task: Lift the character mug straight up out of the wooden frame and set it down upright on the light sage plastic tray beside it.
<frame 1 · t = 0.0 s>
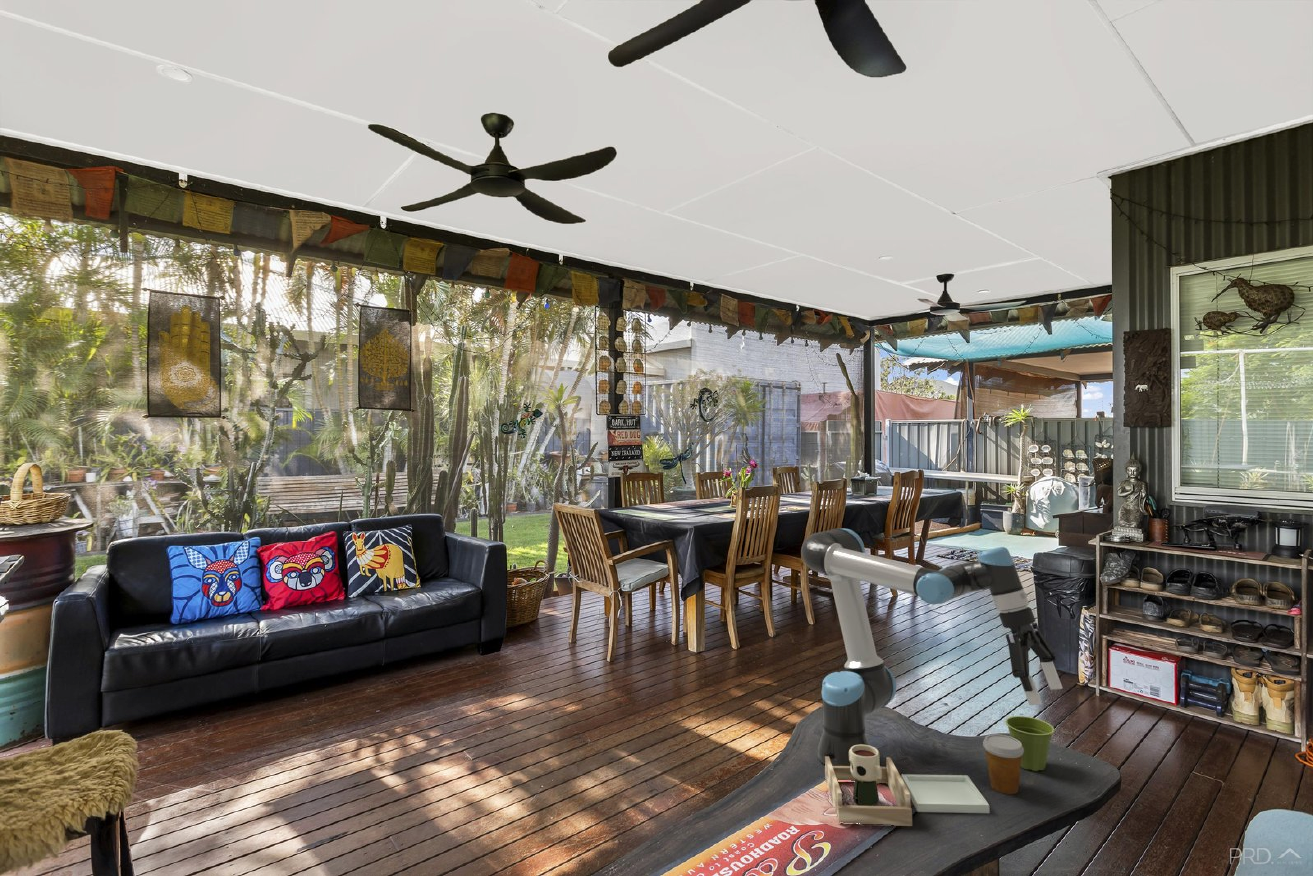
hand: (1046, 696, 160), 28 cm above the table, tool tilted 20°, fingers open, 13 cm apart
character mug: (866, 802, 166), resting in wooden frame
tray: (943, 796, 167), on the table
disposable coffee cup: (1004, 788, 171), on the table
wooden frame: (866, 801, 166), on the table
plant pot: (1030, 766, 182), on the table
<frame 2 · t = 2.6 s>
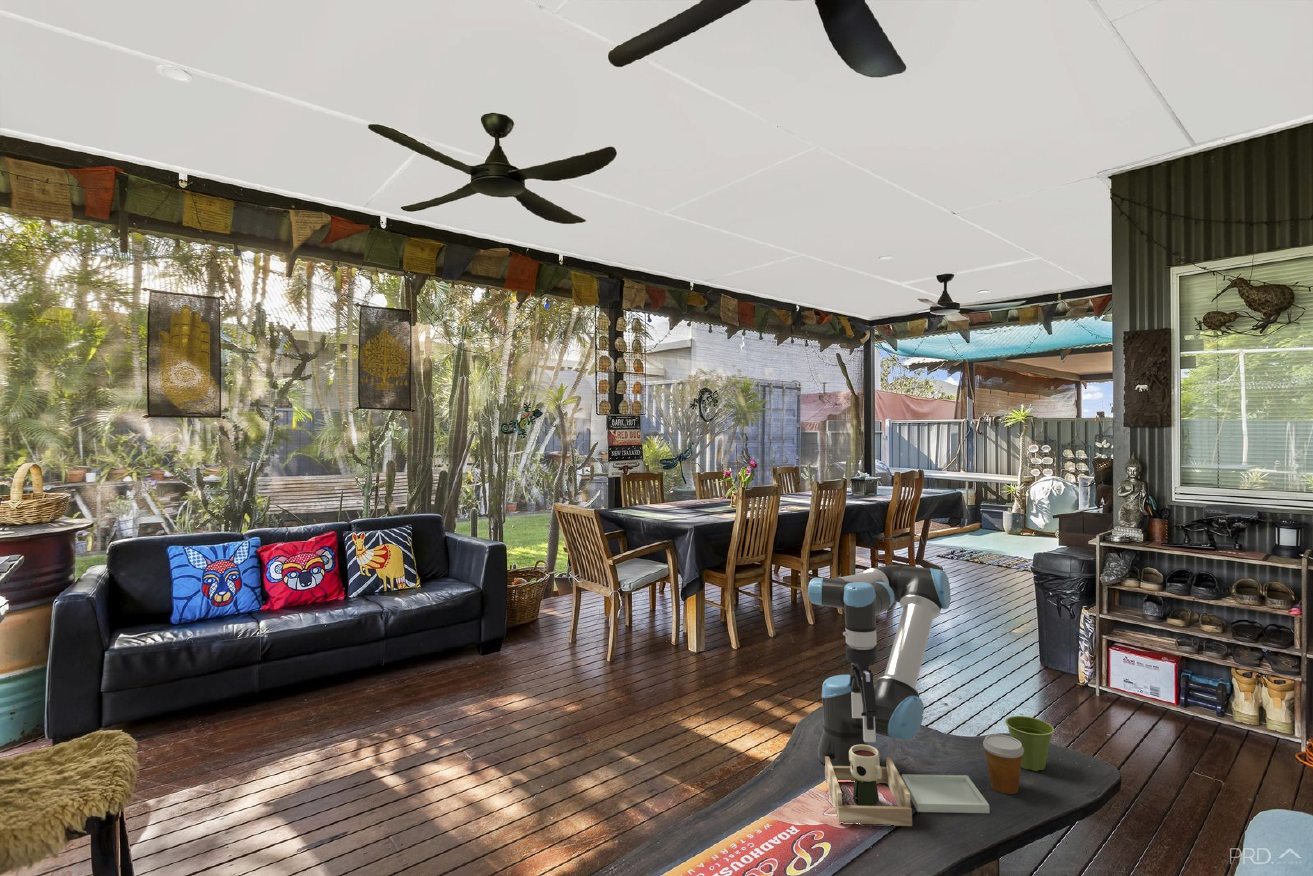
hand: (863, 729, 166), 19 cm above the table, tool pointing down, fingers open, 13 cm apart
nothing on the table moved.
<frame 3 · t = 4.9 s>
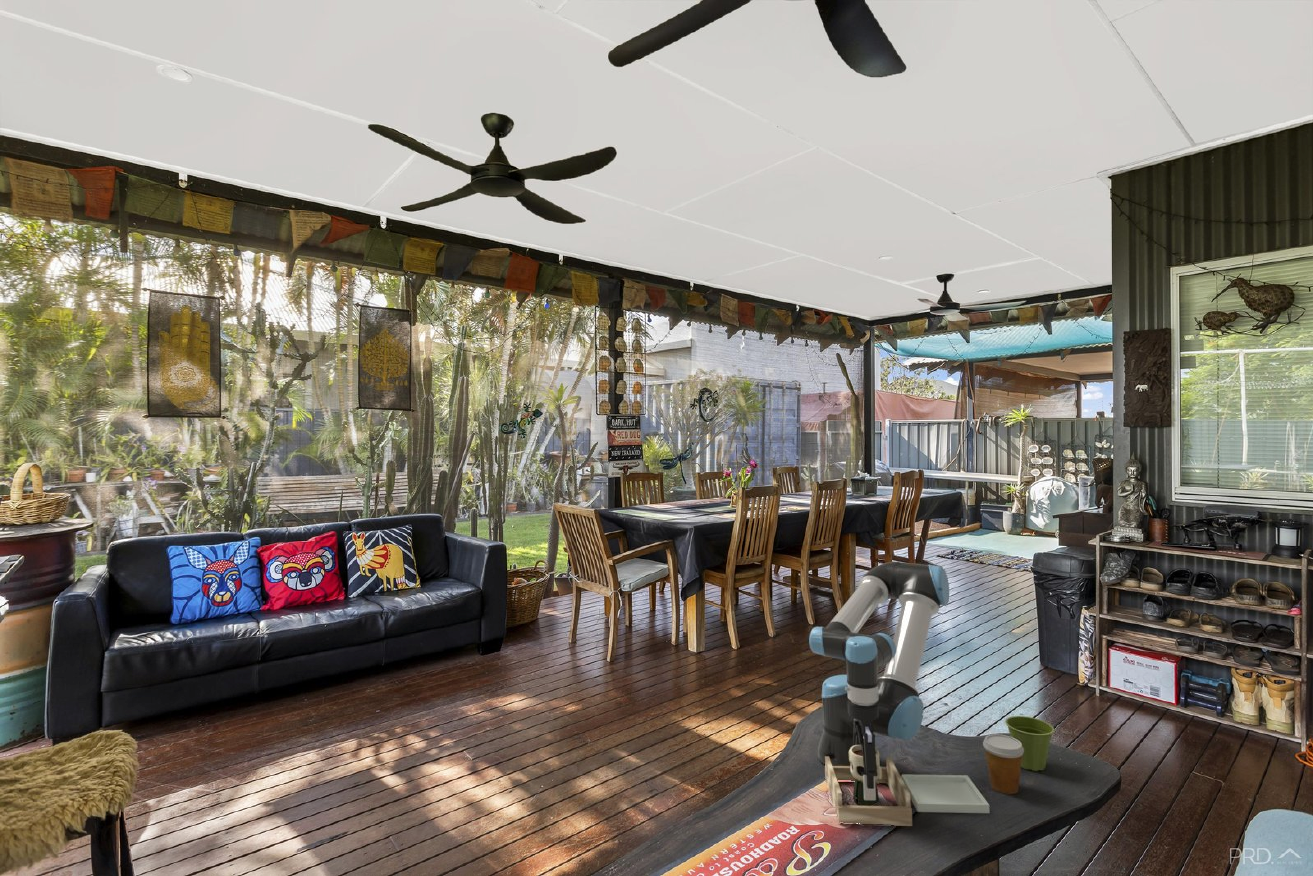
hand: (865, 789, 166), 3 cm above the table, tool pointing down, fingers closed on character mug, 9 cm apart
character mug: (866, 802, 166), resting in wooden frame, touching gripper
everything else where it was.
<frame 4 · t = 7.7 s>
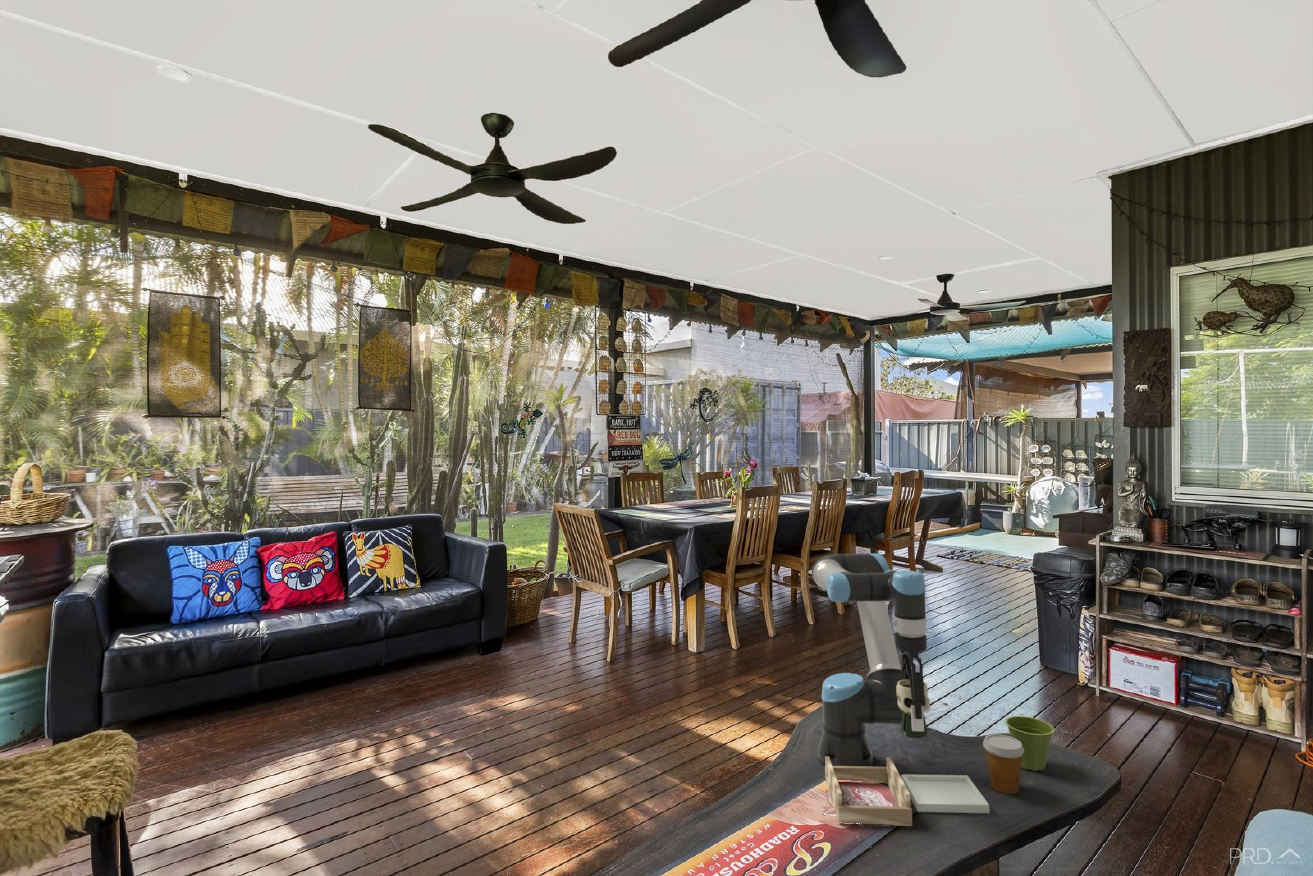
hand: (913, 722, 166), 20 cm above the table, tool pointing down, fingers closed on character mug, 9 cm apart
character mug: (914, 736, 166), point 16 cm above the table, touching gripper
everything else where it was.
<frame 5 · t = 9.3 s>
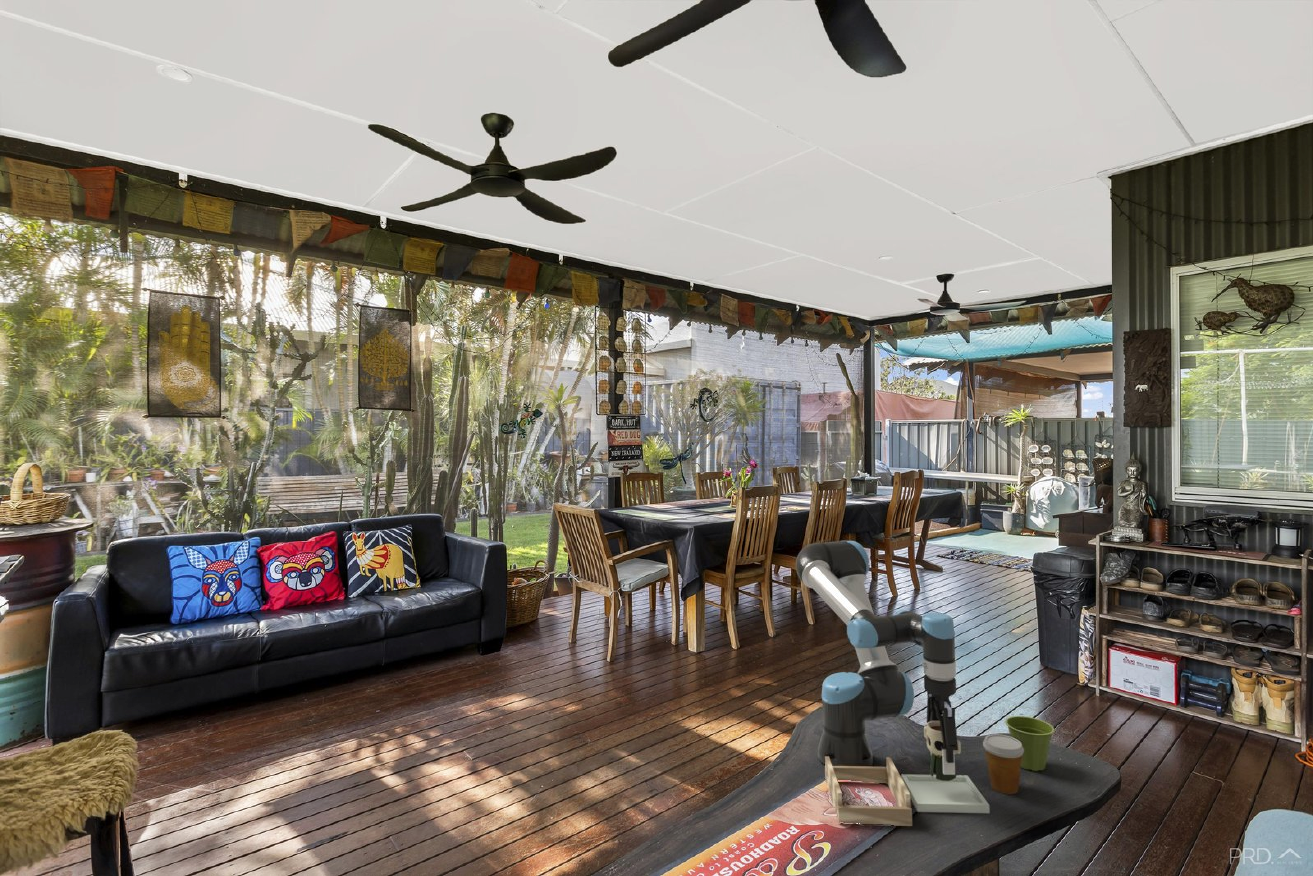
hand: (942, 764, 167), 8 cm above the table, tool pointing down, fingers closed on character mug, 9 cm apart
character mug: (943, 777, 167), point 5 cm above the table, touching gripper
everything else where it was.
when the fingers open (6 cm above the table, at t = 10.6 s): character mug drops 2 cm, resting on tray.
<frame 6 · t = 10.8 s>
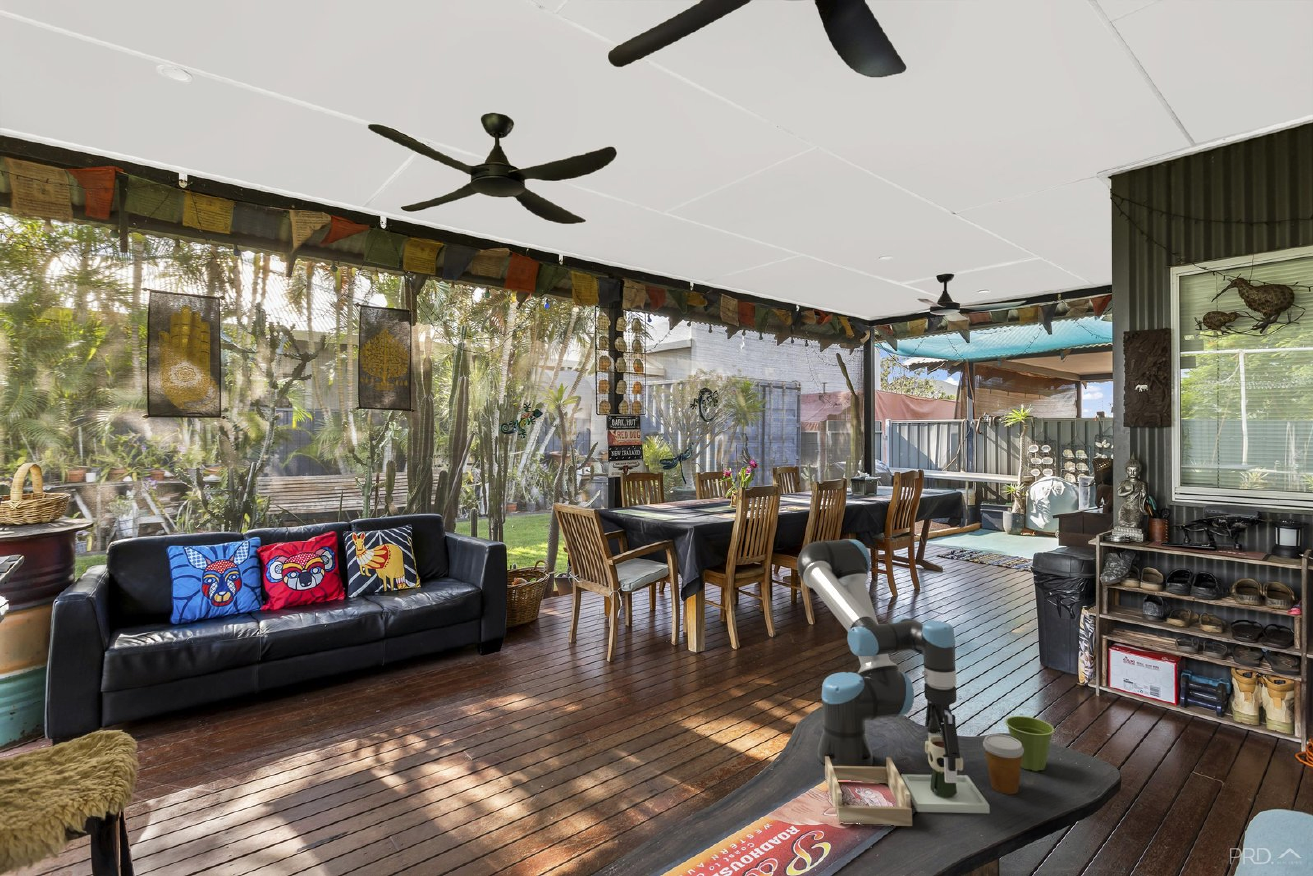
hand: (942, 770, 167), 7 cm above the table, tool pointing down, fingers open, 11 cm apart
character mug: (943, 793, 167), point 1 cm above the table, touching tray
everything else where it was.
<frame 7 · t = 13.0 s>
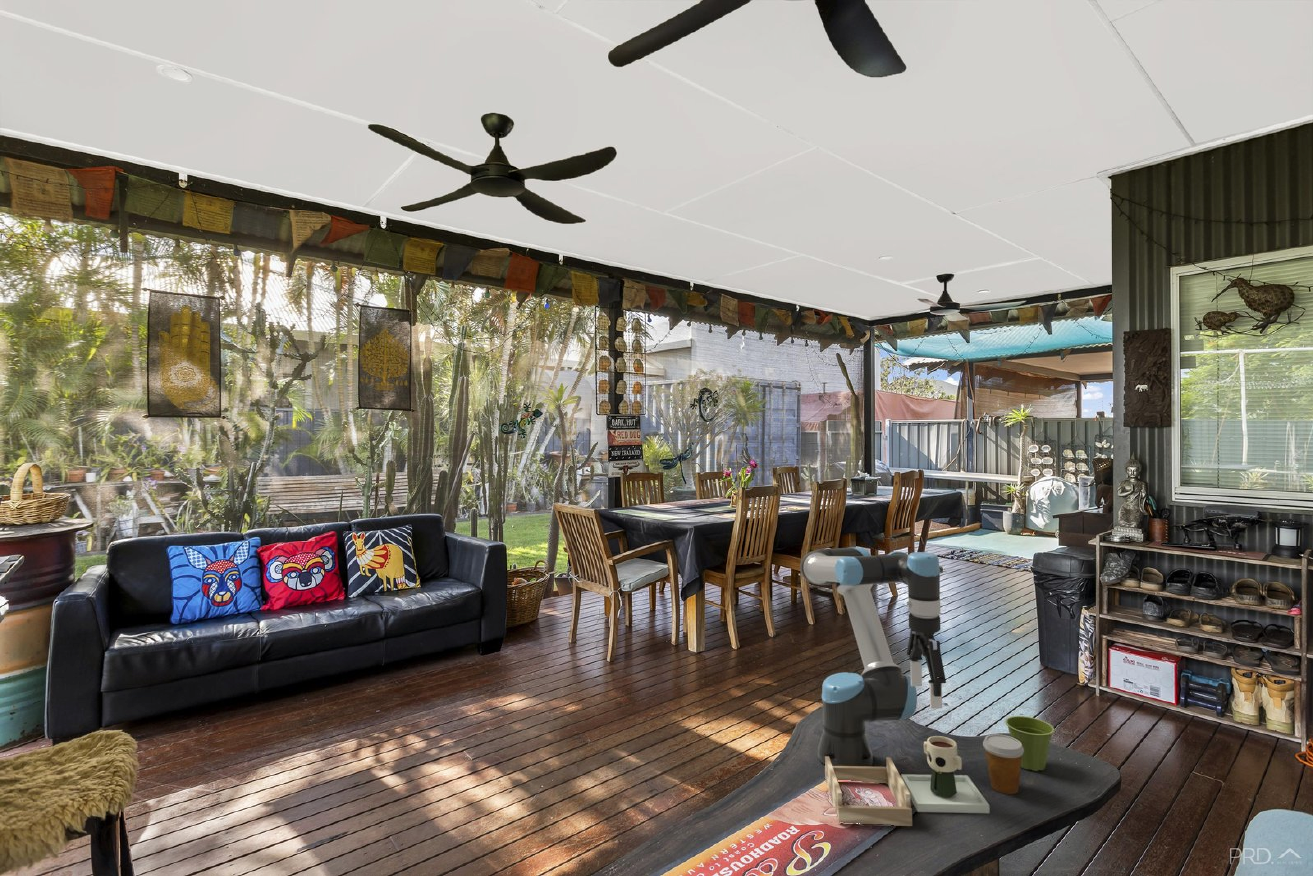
hand: (925, 696, 168), 25 cm above the table, tool pointing down, fingers open, 13 cm apart
nothing on the table moved.
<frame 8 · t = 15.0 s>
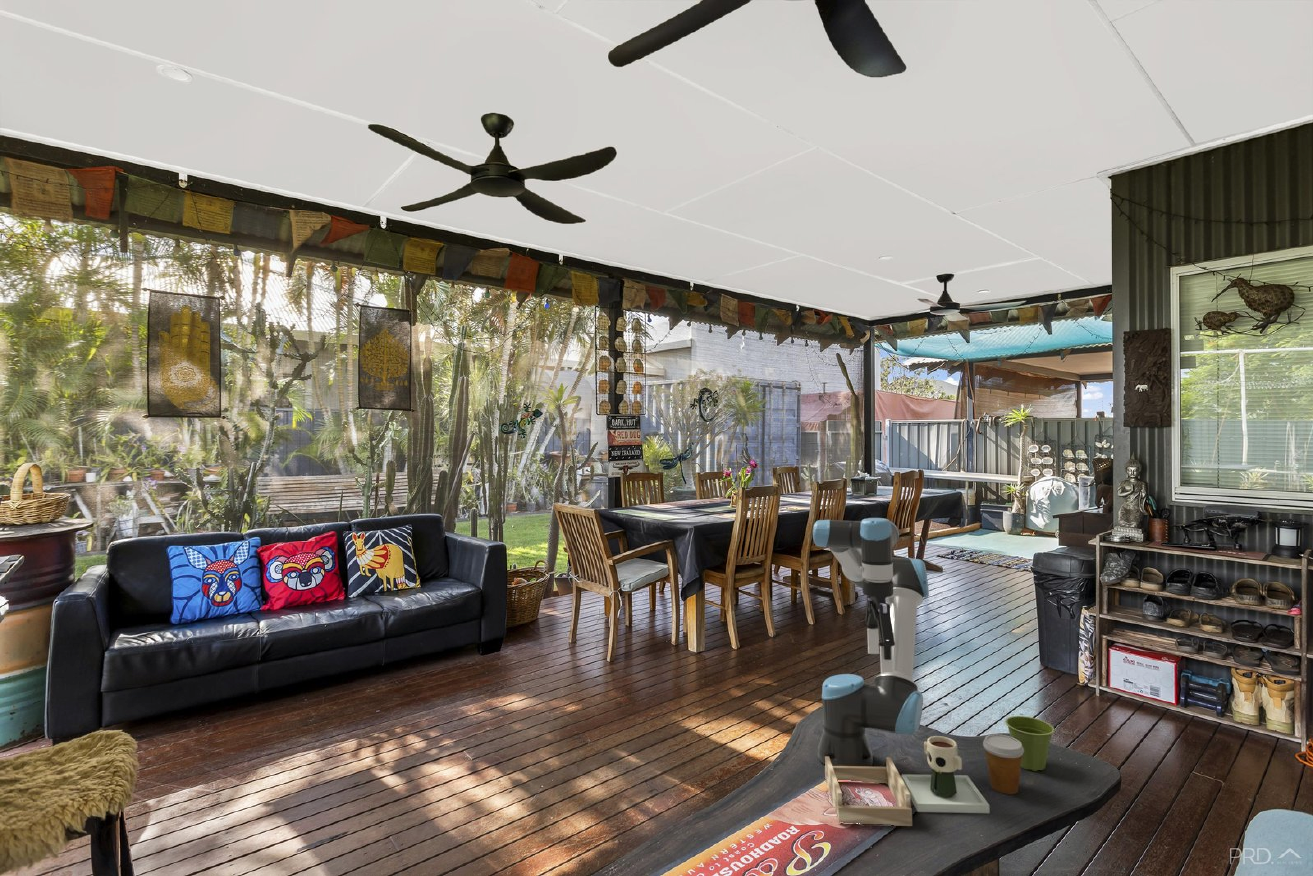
hand: (880, 662, 168), 35 cm above the table, tool pointing down, fingers open, 13 cm apart
nothing on the table moved.
at the end: character mug inside the target area on the tray (0.0 cm from its centre), point 0.8 cm above the tray's base; character mug tilted 0°; the gripper is holding nothing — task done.
